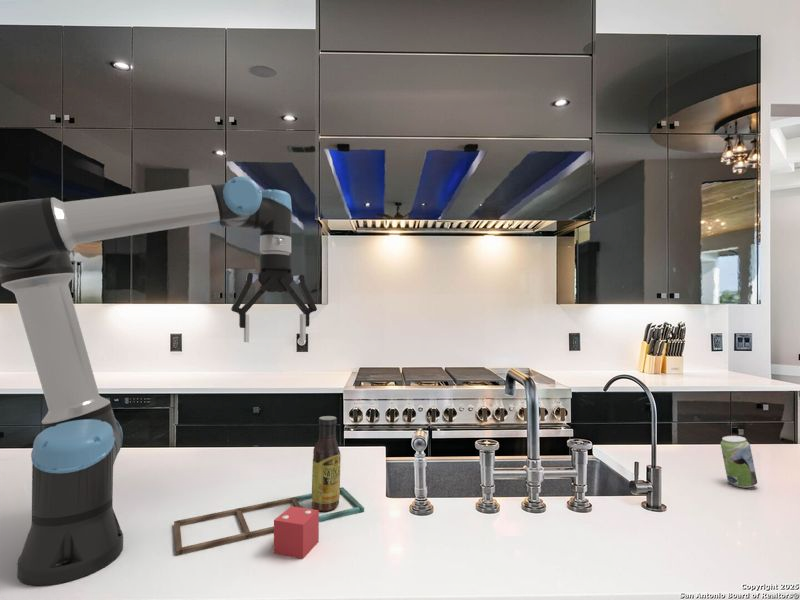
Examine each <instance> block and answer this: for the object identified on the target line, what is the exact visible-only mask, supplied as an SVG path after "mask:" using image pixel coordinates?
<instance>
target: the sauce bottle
mask: <svg viewBox="0 0 800 600" xmlns="http://www.w3.org/2000/svg"><path fill="white" fill-rule="evenodd" d="M337 420H338V418H337V417H336V416H333V415H326V416H325V415H323V416H320V417H319V418H318V425H319V426H318V427H319V430H318V439H317V441H316V443H315V444H314V447H313V452H312V453H313V456H312V471H311V472H312V474H311V493H312V499H311V501H312V502H311V507H312V509H314V510H319V512H326V511H327V512H329V511H331V510H335V509H336V508H337V507H338V506H339V504H340V498H341V497H340V495H341V493H340V488H341V458H342V457H341V451H340V448H339V444H338V441H337V430H336V429H337V428H336V427H337V424H338V423H337V422H338V421H337Z"/></svg>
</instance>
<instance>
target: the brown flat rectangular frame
mask: <svg viewBox="0 0 800 600" xmlns="http://www.w3.org/2000/svg"><path fill="white" fill-rule="evenodd" d="M340 495H342V496H343V497H344V498H346V500H347V501H349V503H350V504H351V505H352V506H353V507H352V508H347V509H344V510H340V511H335V512H330V513H327V514H322V515H319V523H322V522H325V521H330V520H333V519H337V518H343V517H347V516H351V515H355V514H359V513H363V512H365V507H364V506H363V505H362V503H360V502H359V501H358V500H357V499H356V498H355V497H354V496H353V495H352V494H351V493H350V492H349V491H348V490H347V489H346V488H345V487H344V486H340ZM306 500H307V501H308V500H312V492H311V493H307V494H301V495H298V496H297V495H296V496H292V497H287V498H283V499H277V500H273V501H267V502H263V503H258V504H252V505H248V506H243V507H238V508H233V509H229V510H223V511H217V512H214V513H212V512H211V513H208V514H203V515H199V516H194V517H189V518H184V519H179V520H175V521H173V528H174V543H175V544H174V545H175V556H182V555H184V554H185V555H186V554H191V553H194V552H198V551H201V550H202V551H203V550H207V549H210V548H211V549H212V548H214V547H219V546H220V547H221V546H224V545H227V544H232V543H235V542H236V543H237V542H241V541H246V540H249V539H253V538H258V537H261V536H266V535H269V534H274V525H273V526H269V527H265V528H261V529H257V530H251V531H250V529H249V526H248V524H247V521H246V518H245V517H244V514H245V513H249V512H254V511H258V510H264V509H269V508H273V507H279V506H283V505H288V504H291V506H292V507H300V508H303V507H302V505H301V504H300V503H299V502H302V501H306ZM234 515H236V517H237V521H238V523H239V526H240V528H241V532H242V533H239V534H235V535H230V536H226V537H222V538H217V539H212V540H208V541H203V542H200V543H194V544H191V545H186V546H183V543H182V534H181V533H182V531H181V527H182V526H186V525H191V524H196V523H200V522H201V523H202V522H206V521H211V520H215V519H221V518H225V517H230V516H234Z"/></svg>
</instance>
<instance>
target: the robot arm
mask: <svg viewBox="0 0 800 600" xmlns="http://www.w3.org/2000/svg"><path fill="white" fill-rule="evenodd" d="M292 213H293V208H292V197H291V195H290V193H288V192H287V191H284V190H280V189H265V190H264V189H263V190H262V191H261V188H260V186H259V185H258V183H256V182H255V180H253V179H251V178H250V177H248V176H247V177H246V176H235V177H233V178H231V179H229V180H228V181H227V182H220V183H215V184H205V185H197V186H189V187H180V188H172V189H164V190H155V191H147V192H146V191H145V192H137V193H132V194H131V193H128V194H121V195H112V196H104V197H96V198H95V197H94V198H87V199H80V200H79V199H78V200H70V201H62V200H60V199H58V198H56V197H45V198H35V199H26V200H16V201H15V200H14V201H7V202H0V285H1V287H3V288H4V289H6V290H8V291H10V292H12V293H13V294H14V295H15V299H16V303H17V306H18V309H19V313H20V317H21V319H22V324H23V327H24V329H25V334H26V337H27V340H28V344H29V349H30V351H31V354H32V357H33V361H34V364H35V365H34V366H35V367H36V371H37V375H38V379H39V382H40V385H41V389H42V392H43V395H44V398H45V402H46V406H47V409H48V411H47V413H46V415H45V416H44V417H43V419H42V420H41V424H42V428H43V430H42V431H41V432H40V433H39V434H38V435H36V436H35V438H34V440H33V444H32V445H33V446H32V450H31V454H30V456H31V464H32V465H31V470H32V471H31V477H32V478H31V481H32V482H31V525H30V528H29V531H28V534H27V537H26V538H25V542H24V545H23V548H22V551H21V554H20V556H19V557H18V560H17V567H16V568H17V570H16V571H17V572H16V576H17V579H18V580H19V582H21V583H23V584H26V585H31V586H50V585H55V584H61V583H66V582H69V581H73V580H77V579H79V578H82V577H85V576H88V575H90V574H93V573H95V572H97V571H99V570H101V569H102V568H105V567H106V566H108V565H110V564H111V563H112V562H114V561H115V560H116V559H117V558H119V557H120V555H121V553H122V552H123V549H124V533H123V531H122V528H121V526H120V522H119V520H118V518H117V515H116V513H115V511H114V510H115V509H114V508H113V504H114V503H113V496H114V495H113V494H114V493H113V491H114V490H113V489H114V465H115V461H116V459H117V457H118V454H119V453H120V450H121V448H122V445H123V438H124V435H123V429H122V426H121V425H120V422H119V421H118V420H117V419H116V417H115V414H114V410H113V408H112V404H111V401H110V399H108V398H105V397H103V396H101V395H100V393H99V389H98V386H97V382H96V379H95V376H94V375H95V374H94V373H93V372H94V371H93V368H92V363H91V360H90V358H89V353H88V350H87V347H86V344H85V343H86V342H85V340H84V336H83V332H82V328H81V326H80V321H79V318H78V314H77V312H76V308H75V303H74V301H73V300H74V299H73V297H72V294H71V290H70V285H69V284H70V282H71V281H72V280H73V278H74V277H75V271H74V268H73V264H72V260H71V252H72V251H73V250H74V249H75V248H76V246H77V245H80V244H86V243H92V242H98V241H105V240H111V239H117V238H124V237H129V236H136V235H141V234H148V233H155V232H159V231H167V230H173V229H179V228H185V227H191V226H197V225H202V224H203V225H204V224H208V225H209V226H215V227H220V228H238V229H252V230H259V252H260V253H261V254H260V256H259V273H258V274H255V273H252V272H249V273H246V274H245V280H244V283H243V286H242V288H241V289H240V291H239V293H238V295H237V297H236V299H235V300H234V302H233V304H232V306H231V308H230V310H231V311H232V312H234V313H237V314H238V317H239V319H238V321H239V322H238V325H239V328H240V329H243V342H244V343H250V314H247V312H249V310H250V309H251V308H252V307H253V306H254V304H255V303H256V302H258V300H259V299H260V298H261V297H262V295H264V294H265V293H266V292H267V293H284V292H285V294H286V295H288V297H289V298H290V299H291V300H292V301H293V303H294V304H295V305H296V306H297V307H298V309H299V310H300V311H301V314H299V340H300V341H306V339H307V335H306V334H307V333H306V332H307V331H306V330H307V329H306V328H308V327H309V326H310V315H311V314H312V313H314V312H317V311H318V308H317V306H316V303H315V301H314V299H313V297H312V295H311V293H310V290H309V289H308V287H307V284H306V283H305V281H306V280H305V275H304V274H300V275H293V274H292V257H291V255H290V254H292V216H293V214H292ZM256 280H257V281H258V282H259V283H260V287H259V288H258V289H257V290H256V291H255V293H253V295H252V296H251V297H250V298H249V299H248V300H247V301H246V303H244V304H243V306H242V307H240V306H241V305H242V303H243V301H244V299H245V298H246V296H247V294H248V292H249V290H250V288H251V286H252V284H253V283H255V282H256ZM293 281H294V282H295V283H294V284H296V285H297V286H298V288H299V291H300V292H301V295H302V297H303V299H304V301H305V303H306V304H305V303H304V302H303V300H302V299H301V298H300V297H299V295H298V294H297V293H296V292H295V290H294V289H293V287H292V286H291V284H292V283H293Z"/></svg>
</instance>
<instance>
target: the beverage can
mask: <svg viewBox="0 0 800 600" xmlns="http://www.w3.org/2000/svg"><path fill="white" fill-rule="evenodd" d="M721 439H722V440H721V441H720V449H721V454H722V457H723V463H724V468H725V474H726V478H727V482H728V483H729V484H731V485H733V486H734V487H739V488H742V489H743V488H753V487H754V486H755V485H757V484H758V479H757V473H756V468H755V464H754V458H753V453H752V446H751V444H750V442H749V441H748V440H747V438H746V437H744V436H742V435H741V436H740V435H726V436H723V437H722V438H721Z"/></svg>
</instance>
